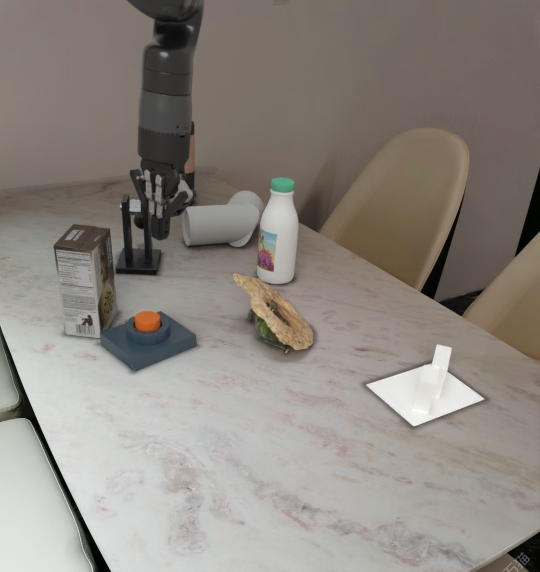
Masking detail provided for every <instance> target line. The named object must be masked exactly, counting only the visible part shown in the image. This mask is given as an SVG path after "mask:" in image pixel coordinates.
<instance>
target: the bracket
mask: <svg viewBox="0 0 540 572" xmlns="http://www.w3.org/2000/svg"><path fill="white" fill-rule="evenodd" d="M130 199H131V198H130V194H128V193H127V194H123V196H122V199H121V201H120V204H119V211H121V220H122V234H123V247H122V249H121V252H120V255H119V257H118V261H117V264H116V266H115V273H116V274H123V275H124V274H125V275H149V276H150V275H151V276H152V275H153V276H156V275H157V274H158V270H159V265H160V260H161V255H162V250H161V249H160V248H153V237H152V233H151V214H150V213H149V209H148V208H147V207H143V206H142V207H143V227H144V229H143V244H144V245H143V246H144V248H139V247H138V248H137V247H136V248H135V247H134V246H133V234H132V233H133V232H132V231H133V230H132V215H131V213H130V211H129V206H130Z"/></svg>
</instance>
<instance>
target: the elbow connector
mask: <svg viewBox="0 0 540 572" xmlns="http://www.w3.org/2000/svg"><path fill="white" fill-rule="evenodd" d="M264 210H265V208H264V203H263V201H262V199H261V197H260V196H258V194H256V193H255V192H253V191H251V190H240V191H238V192H236V193H235V194H233V196H232V197H231V198H230V199H229V201H228V202H227V204H212V205H209V204H208V205H191V206H188V207H187V208H186V209H185V210H184V212H183V213H182V214H181V231H182V236H183V241H184V243H185V245H186V246H187V247H189V246H190V247H191V246H202V245H203V246H205V245H216V244H229V246H232V247H233V248H234V247H235V248H240V247H243V246H245V245H246V244H248V243H249V241H250V239H251V237H252V235H253V234H254V232H255V230H256V228H257V226H258V224H260V223H259V222H261V217H262V214H263V212H264Z"/></svg>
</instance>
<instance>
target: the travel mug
mask: <svg viewBox="0 0 540 572" xmlns="http://www.w3.org/2000/svg"><path fill="white" fill-rule="evenodd" d="M195 141H196V140H195V122H194V121H193V120H192V123H191V138H190V153H189V159H188V160H187V162H186V163H185V167H184V168H185V173H186V181H185V182H186V184H187V185H188V187H189V189H190V190H192V189H194V190H195V179H196V177H195V176H196V149H195V147H196V145H195V143H196V142H195ZM194 202H195V199H194V200H193V201H192V202H191V203H190V204H189V206H188V207H191V206H194Z"/></svg>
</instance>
